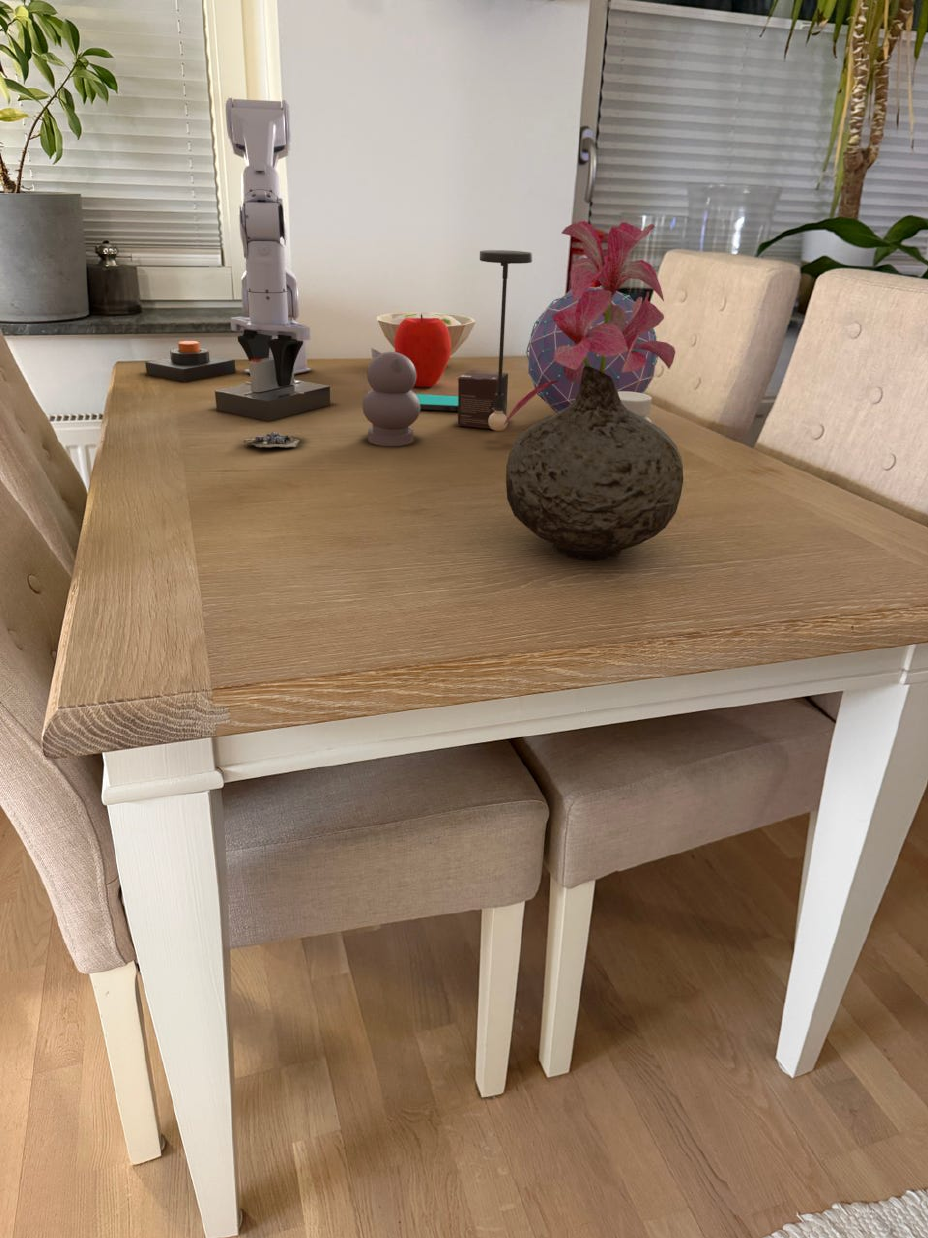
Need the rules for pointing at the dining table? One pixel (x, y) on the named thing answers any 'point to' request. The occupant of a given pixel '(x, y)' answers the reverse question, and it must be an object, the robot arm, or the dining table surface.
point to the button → (188, 346)
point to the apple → (424, 347)
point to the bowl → (454, 323)
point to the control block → (190, 366)
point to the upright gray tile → (264, 375)
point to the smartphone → (438, 402)
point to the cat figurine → (391, 399)
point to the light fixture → (502, 324)
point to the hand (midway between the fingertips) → (273, 383)
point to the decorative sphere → (552, 337)
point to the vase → (598, 421)
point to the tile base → (272, 400)
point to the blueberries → (272, 441)
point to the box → (479, 397)
